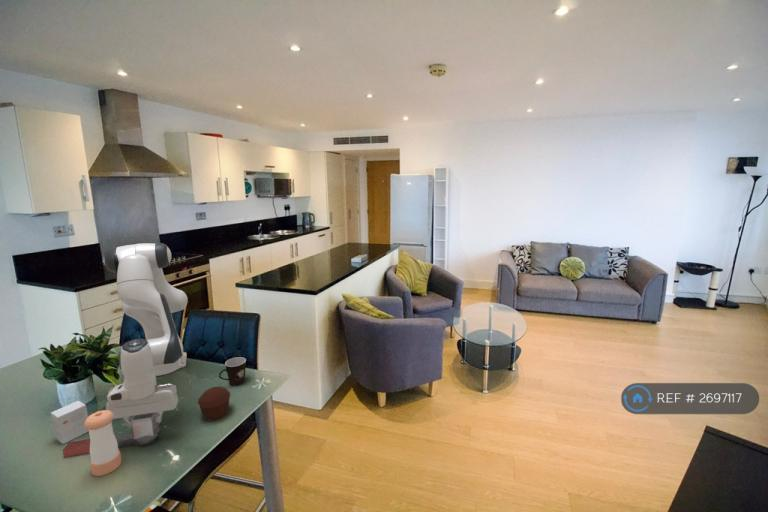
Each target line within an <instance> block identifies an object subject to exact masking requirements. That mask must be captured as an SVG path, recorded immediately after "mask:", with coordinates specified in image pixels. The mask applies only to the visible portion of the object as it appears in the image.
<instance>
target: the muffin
mask: <svg viewBox="0 0 768 512" xmlns="http://www.w3.org/2000/svg"><path fill="white" fill-rule="evenodd" d="M230 398H231V392H230V391H229V390H228V389H227V388H226V387H223V386H212V387H210V388H208V389H207V390H205V391H204V392H203V393H202V394H201V396H200V397H199V399H198V400H197V405H198V406H199V409H200V412H201V415H202V418H203V419H204V420H205V421H216V420H219V419H222V418H224V416H225V415H227V414H228V410H229V405H230Z"/></svg>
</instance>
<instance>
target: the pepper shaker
mask: <svg viewBox="0 0 768 512" xmlns="http://www.w3.org/2000/svg"><path fill="white" fill-rule="evenodd" d="M113 418H114V414H113V412H111V411H109V410H106V409H104V410H97V411H96V412H94V413H93V412H92V413H91V414H90V415H88V417H87V419H86V420H85V422H84V427H85V428H86V429H88V430H89V431H88V434H89V439H90V453H89V455H90V456H89V457H90V462H89V463H90V469H91V474H92V475H93V476H96V477H100V476H104V475H107V474H110V473H112V472H113V471H115V470H117V469H118V468H119V467H120V466H121V464H122V462H123V461H122V455H121V451H120V449H119V448H118V443H117V440H116V438H115V436H116V435H115V433H114V428H113V420H114V419H113Z"/></svg>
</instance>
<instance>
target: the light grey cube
mask: <svg viewBox="0 0 768 512" xmlns="http://www.w3.org/2000/svg"><path fill="white" fill-rule="evenodd" d="M156 416H159V414H158V412H155V413H149V414H143V415H136V416H133V417H132V426H133V427H132V430H133V431H132V433H134V439H138V438H144V437H150V436H154V434H155V432H156V430H157V428H158V427H159V426H160V423H155V422H156V421H155V418H156Z"/></svg>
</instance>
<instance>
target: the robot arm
mask: <svg viewBox="0 0 768 512" xmlns="http://www.w3.org/2000/svg"><path fill="white" fill-rule="evenodd" d="M171 260H172V252H171V250H170V248H169V246H168V245H167V244H165V243H164V242H163V243H162V242H155V243H153V242H151V243H148V242H146V243H135V244H126V245H121V246H112V247H109V248H107V249H106V250H105V252H104V254H103V265H104V266H105V268H106V269H107V271H109V272H110V273H113V274H116V286H117V287H116V288H117V295H118V298H119V300H120V301H121V309H122V311H123V313H124V314H125V315H126V316H128V317H130V318H132V319H134V320H136V321H137V322H138V323H139V324H140V325H141V328H143V332H144V335H145V338H135V339H131V340H128V341H127V342H124V344H123V345H122V346H121V349H120V351H119V352H118V359H117V360H118V365H119V369H120V370H121V371H120V372H121V373H122V376H123V382H122V383H120V384H117V385H115V386H113V387H114V388H113V387H112V388H113V389H112V390H111V392H110V393H109V392H108V393H107V396H106V399H107V403H106V405H105V410H109V411H111V412H113V414H114V418H113V420H117V419H123V420H124V421H125V422H126V423H127V424H128V426H129V428H133V426H132V419H133V417H134V416H136V415H143V414H149V413H155V412H157V414H158V416H156V418H155V421H156V422H155V423H159V424H160V423H161V422H162V416H163V413H164V412H169V411H173V410H175V409H176V407H177V406H178V405H179V404H178V403H179V397H178V394H177V391H178V390H177V388H178V387H177V386H176V385H175V384H172V383H171V382H170V383H166V384H164V383H163V384H157V377H158V376H164V375H168V374H171V373H174V372H176V371H177V370H179V369H181V368H184V367H186V366H187V356H188V354H187V352H185V351H184V344H183V343H182V340H181V338H180V335H178V331H177V328H176V324H175V322H174V319H173V313H177V312H180V311H183V310H184V309H186V307H187V305H188V303H189V301H188V300H189V299H188V296H187V294H186V292H185V291H183V290H182V289H178V288H176V287H174V286H173V285H172V284H170V283H169V282H168V281H167V278H166V277H165V274H164V271H163V268H166V267H168V266H170V263H171Z"/></svg>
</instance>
